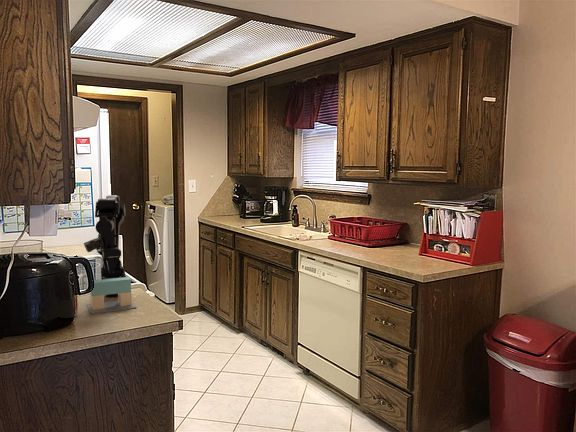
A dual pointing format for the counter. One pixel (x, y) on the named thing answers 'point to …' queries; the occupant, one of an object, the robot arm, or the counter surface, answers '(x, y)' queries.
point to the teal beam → (111, 286)
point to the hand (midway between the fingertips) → (108, 271)
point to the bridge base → (110, 303)
